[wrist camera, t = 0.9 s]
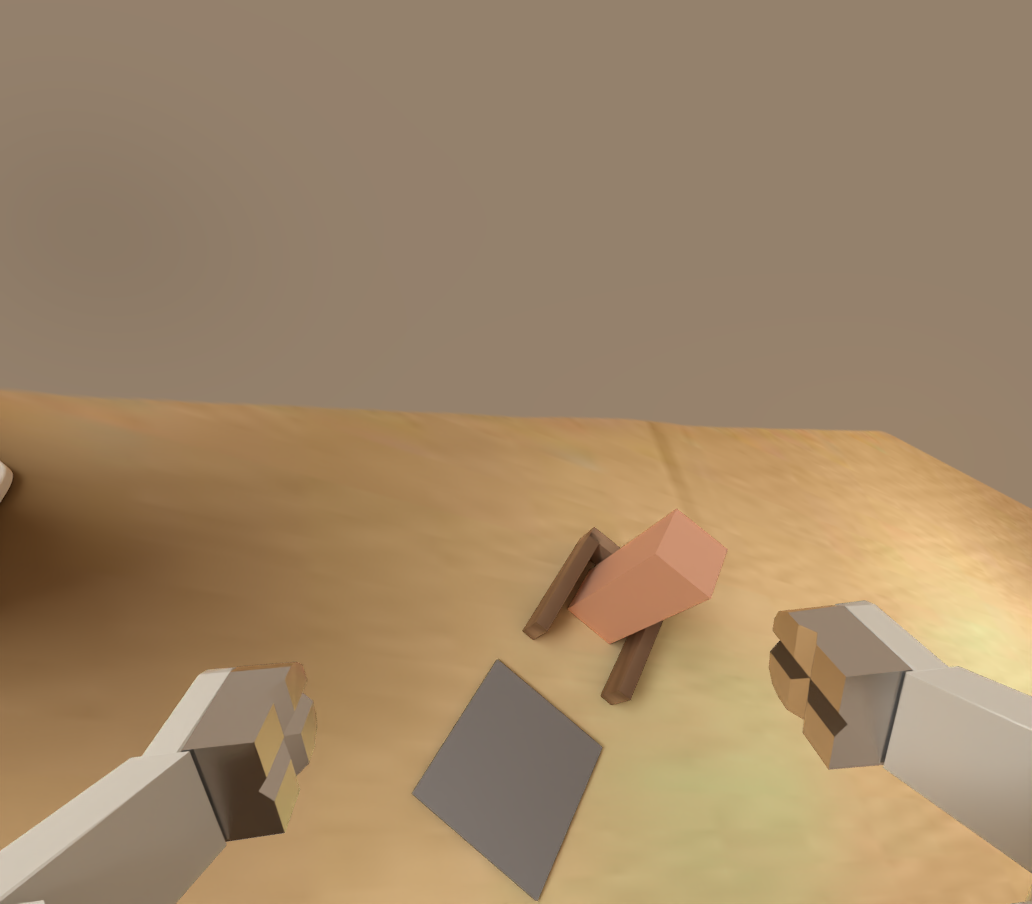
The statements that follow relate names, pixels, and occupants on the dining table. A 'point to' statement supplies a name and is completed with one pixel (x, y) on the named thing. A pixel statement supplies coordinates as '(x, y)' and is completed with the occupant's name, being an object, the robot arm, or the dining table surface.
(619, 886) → the dining table surface
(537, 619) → the lane rack
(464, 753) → the mat
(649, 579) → the terracotta block
